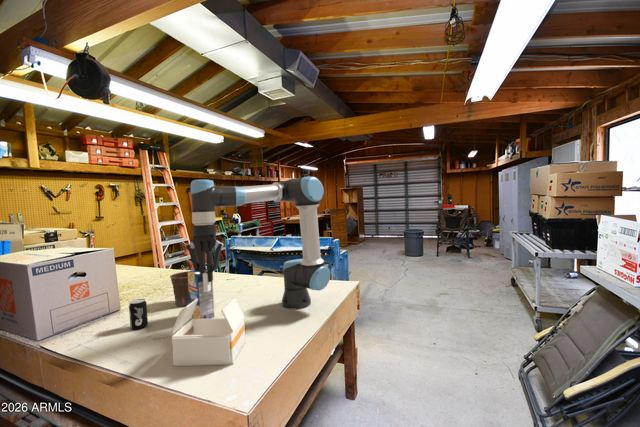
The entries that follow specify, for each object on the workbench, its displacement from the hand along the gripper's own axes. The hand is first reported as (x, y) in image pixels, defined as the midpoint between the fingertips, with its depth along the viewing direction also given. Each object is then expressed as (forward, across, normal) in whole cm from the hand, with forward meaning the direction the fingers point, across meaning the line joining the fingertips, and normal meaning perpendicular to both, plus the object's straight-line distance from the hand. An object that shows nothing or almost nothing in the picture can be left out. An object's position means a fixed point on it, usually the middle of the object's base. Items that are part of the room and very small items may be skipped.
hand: (207, 290), depth 99 cm
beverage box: (+23, +19, -34) cm, 45 cm away
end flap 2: (+13, -11, 0) cm, 17 cm away
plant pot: (+23, +36, -54) cm, 69 cm away
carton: (+23, 0, 0) cm, 23 cm away
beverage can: (+23, +43, -24) cm, 54 cm away
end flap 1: (+13, +10, 0) cm, 16 cm away
